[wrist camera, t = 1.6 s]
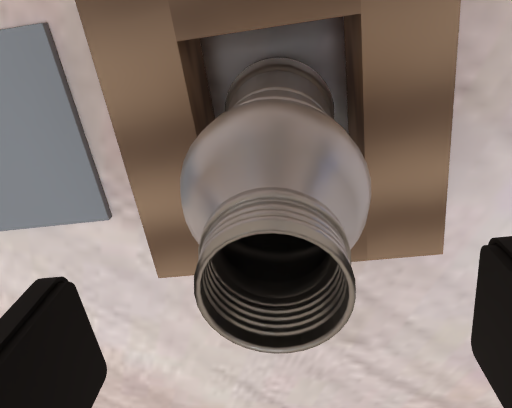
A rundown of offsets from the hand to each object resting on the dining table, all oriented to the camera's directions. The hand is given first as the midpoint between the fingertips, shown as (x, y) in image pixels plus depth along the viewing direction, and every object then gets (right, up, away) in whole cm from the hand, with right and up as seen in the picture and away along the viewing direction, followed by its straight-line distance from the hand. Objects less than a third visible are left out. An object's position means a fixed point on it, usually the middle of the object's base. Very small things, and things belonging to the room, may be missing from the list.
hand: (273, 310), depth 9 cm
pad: (-20, +7, +20) cm, 29 cm away
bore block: (+1, +9, +18) cm, 20 cm away
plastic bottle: (+1, +9, +18) cm, 20 cm away
